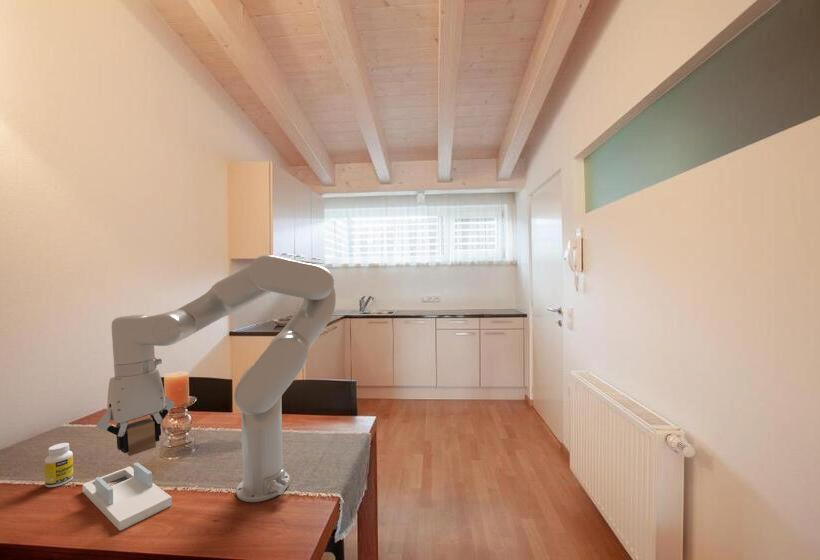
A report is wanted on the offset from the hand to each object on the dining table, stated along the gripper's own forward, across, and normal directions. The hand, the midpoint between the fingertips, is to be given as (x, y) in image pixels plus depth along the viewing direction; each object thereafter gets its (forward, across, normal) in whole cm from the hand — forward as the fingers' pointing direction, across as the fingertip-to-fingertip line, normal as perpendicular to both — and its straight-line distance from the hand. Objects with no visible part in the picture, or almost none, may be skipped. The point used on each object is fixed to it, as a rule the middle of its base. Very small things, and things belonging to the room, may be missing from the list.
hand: (140, 444), depth 82 cm
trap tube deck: (+15, +1, -9) cm, 18 cm away
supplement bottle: (+15, +8, -34) cm, 38 cm away
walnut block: (+1, 0, 0) cm, 1 cm away
